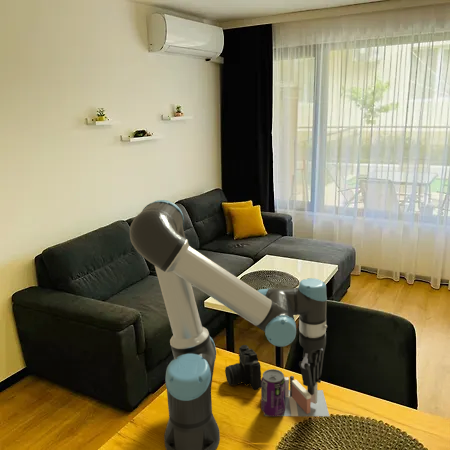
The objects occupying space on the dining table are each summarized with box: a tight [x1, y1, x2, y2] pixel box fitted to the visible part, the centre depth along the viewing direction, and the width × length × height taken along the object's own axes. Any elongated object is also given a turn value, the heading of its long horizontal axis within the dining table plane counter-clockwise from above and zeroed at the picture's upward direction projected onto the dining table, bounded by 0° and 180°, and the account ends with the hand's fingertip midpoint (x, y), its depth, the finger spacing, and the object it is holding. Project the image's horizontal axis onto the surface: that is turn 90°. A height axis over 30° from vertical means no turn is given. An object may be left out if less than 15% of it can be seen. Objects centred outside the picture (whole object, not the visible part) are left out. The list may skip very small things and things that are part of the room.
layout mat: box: [263, 389, 330, 417], centre depth 133 cm, size 19×12×1 cm, turn 87°
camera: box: [224, 344, 262, 391], centre depth 144 cm, size 14×11×10 cm
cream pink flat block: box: [292, 379, 311, 414], centre depth 131 cm, size 8×2×6 cm, turn 23°
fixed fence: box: [284, 375, 295, 396], centre depth 136 cm, size 9×2×6 cm, turn 87°
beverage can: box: [260, 368, 285, 417], centre depth 128 cm, size 7×7×12 cm
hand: (312, 401), depth 131 cm, fingers closed
